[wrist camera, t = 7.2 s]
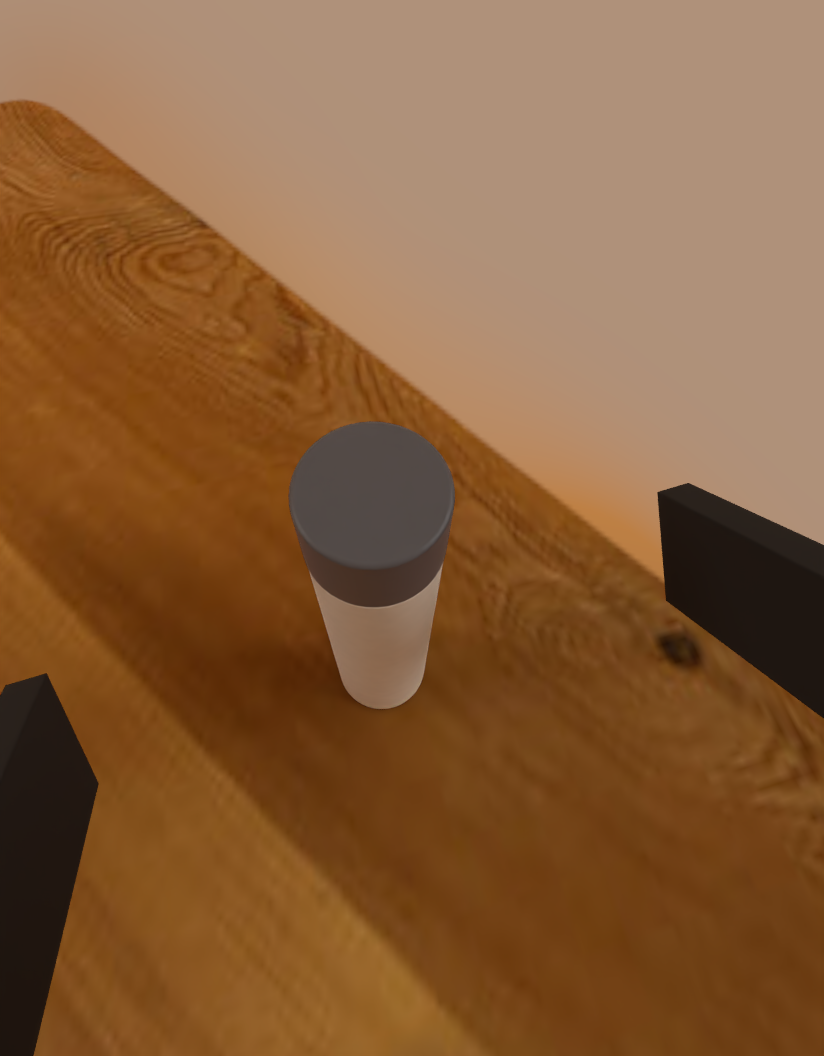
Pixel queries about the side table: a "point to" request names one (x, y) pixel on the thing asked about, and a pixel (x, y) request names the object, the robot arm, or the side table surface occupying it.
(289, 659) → the side table surface
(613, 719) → the side table surface
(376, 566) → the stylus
